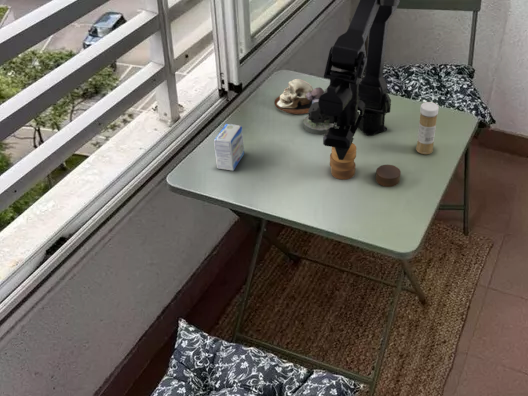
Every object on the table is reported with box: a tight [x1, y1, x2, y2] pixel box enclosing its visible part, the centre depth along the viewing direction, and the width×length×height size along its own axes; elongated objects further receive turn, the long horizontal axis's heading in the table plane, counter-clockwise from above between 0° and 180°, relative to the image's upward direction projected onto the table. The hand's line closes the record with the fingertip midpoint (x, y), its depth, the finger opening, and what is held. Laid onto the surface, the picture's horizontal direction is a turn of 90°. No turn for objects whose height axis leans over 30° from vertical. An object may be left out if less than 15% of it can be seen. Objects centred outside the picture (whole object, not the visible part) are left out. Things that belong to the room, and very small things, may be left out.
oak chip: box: [331, 142, 357, 163], centre depth 166 cm, size 6×6×2 cm
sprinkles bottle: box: [415, 101, 439, 155], centre depth 176 cm, size 5×5×13 cm
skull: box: [274, 78, 314, 115], centre depth 194 cm, size 12×10×10 cm
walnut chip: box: [375, 164, 402, 188], centre depth 168 cm, size 6×6×2 cm
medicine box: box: [213, 123, 245, 172], centre depth 169 cm, size 8×4×9 cm, turn 168°
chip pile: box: [329, 152, 356, 181], centre depth 168 cm, size 6×6×5 cm
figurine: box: [302, 87, 335, 135], centre depth 183 cm, size 8×8×12 cm
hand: (343, 152), depth 166 cm, fingers closed on oak chip, 6 cm apart
